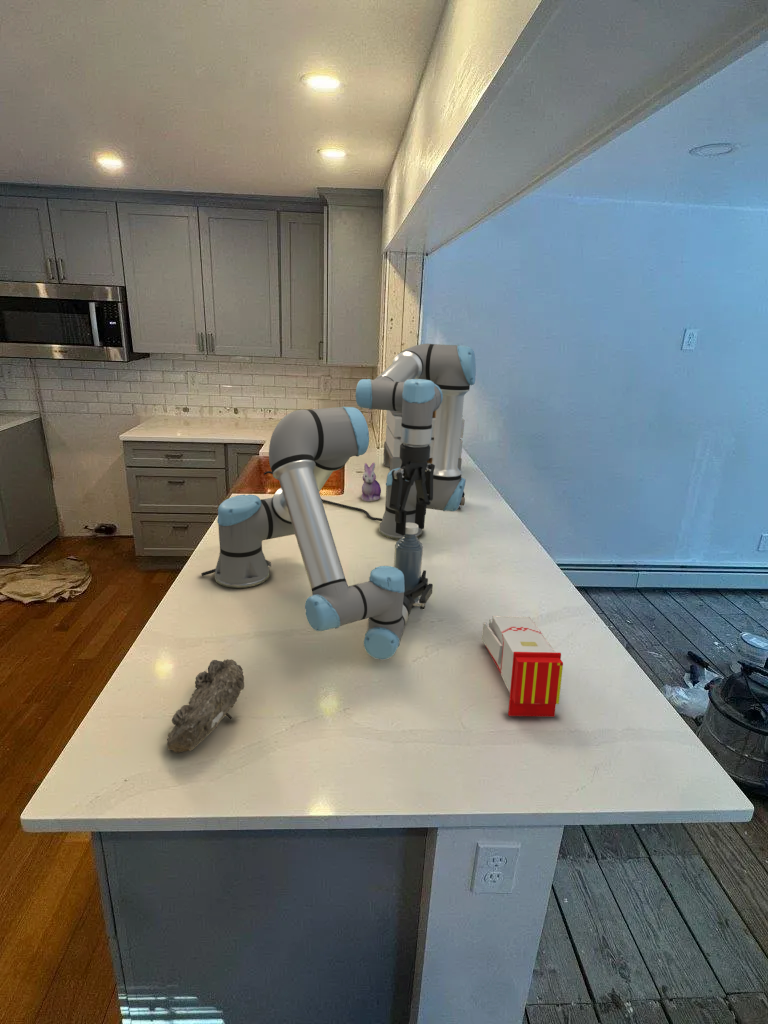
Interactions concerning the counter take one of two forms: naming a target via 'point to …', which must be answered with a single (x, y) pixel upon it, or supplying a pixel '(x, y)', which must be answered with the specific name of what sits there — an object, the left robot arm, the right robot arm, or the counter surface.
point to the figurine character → (462, 501)
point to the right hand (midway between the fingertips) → (409, 530)
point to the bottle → (409, 560)
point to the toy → (525, 665)
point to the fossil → (206, 705)
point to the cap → (411, 528)
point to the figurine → (370, 484)
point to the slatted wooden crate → (394, 442)
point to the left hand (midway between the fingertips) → (409, 572)
